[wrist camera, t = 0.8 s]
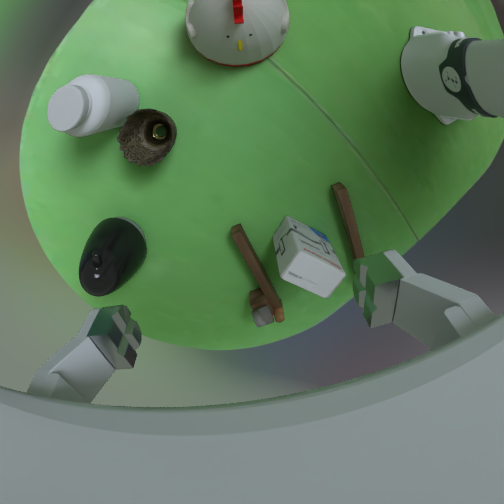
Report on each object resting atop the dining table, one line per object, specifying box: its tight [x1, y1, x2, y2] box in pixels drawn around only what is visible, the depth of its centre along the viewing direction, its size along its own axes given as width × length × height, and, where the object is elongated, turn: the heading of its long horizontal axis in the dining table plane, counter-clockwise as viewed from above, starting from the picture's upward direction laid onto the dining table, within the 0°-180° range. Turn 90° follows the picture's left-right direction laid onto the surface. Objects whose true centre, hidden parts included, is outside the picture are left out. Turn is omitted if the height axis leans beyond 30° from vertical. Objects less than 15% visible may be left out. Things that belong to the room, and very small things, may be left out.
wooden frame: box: [231, 182, 364, 327], centre depth 44 cm, size 22×19×7 cm
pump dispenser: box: [79, 217, 147, 296], centre depth 37 cm, size 10×10×15 cm
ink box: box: [273, 216, 346, 298], centre depth 41 cm, size 9×5×12 cm, turn 61°
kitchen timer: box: [186, 0, 289, 67], centre depth 21 cm, size 14×14×15 cm
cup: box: [117, 109, 177, 166], centre depth 32 cm, size 8×7×8 cm
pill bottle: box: [47, 74, 139, 137], centre depth 26 cm, size 8×8×15 cm
